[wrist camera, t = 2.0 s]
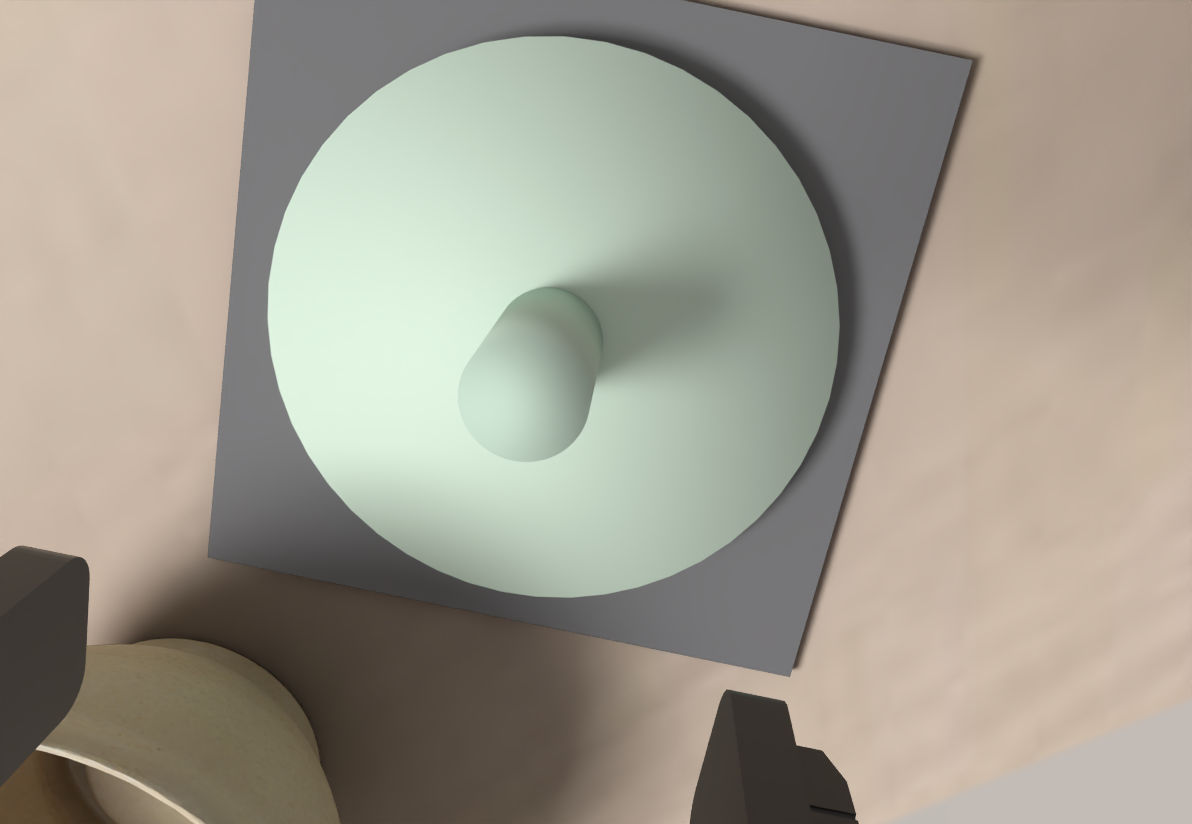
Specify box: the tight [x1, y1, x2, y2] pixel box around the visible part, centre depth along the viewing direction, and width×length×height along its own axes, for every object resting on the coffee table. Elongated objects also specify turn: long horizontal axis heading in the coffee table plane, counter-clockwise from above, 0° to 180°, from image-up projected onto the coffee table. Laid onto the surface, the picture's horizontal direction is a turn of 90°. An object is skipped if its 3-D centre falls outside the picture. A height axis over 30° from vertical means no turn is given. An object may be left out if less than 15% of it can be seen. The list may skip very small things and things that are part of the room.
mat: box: [208, 0, 973, 677], centre depth 31 cm, size 20×20×1 cm
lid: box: [268, 36, 840, 598], centre depth 28 cm, size 17×17×7 cm
